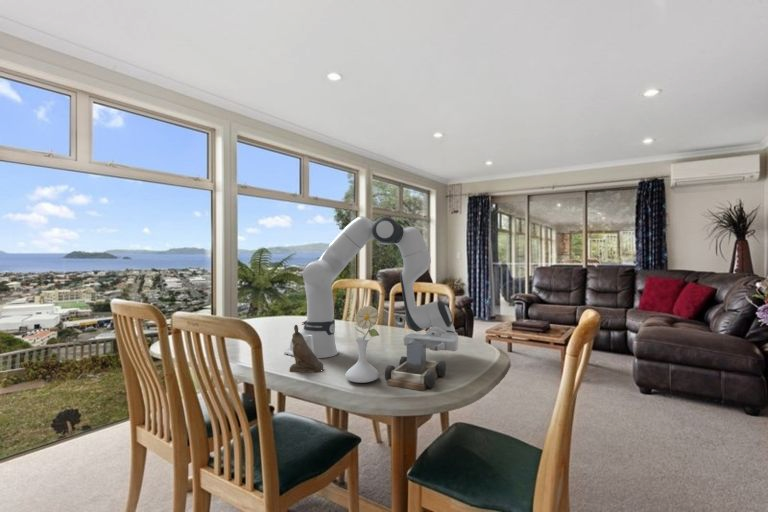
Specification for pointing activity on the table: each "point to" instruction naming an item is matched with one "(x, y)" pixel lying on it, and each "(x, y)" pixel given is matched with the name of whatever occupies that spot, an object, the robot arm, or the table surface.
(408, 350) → the block
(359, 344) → the flower in vase
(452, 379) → the table surface
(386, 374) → the chassis
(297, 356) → the brown carved statuette
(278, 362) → the table surface
